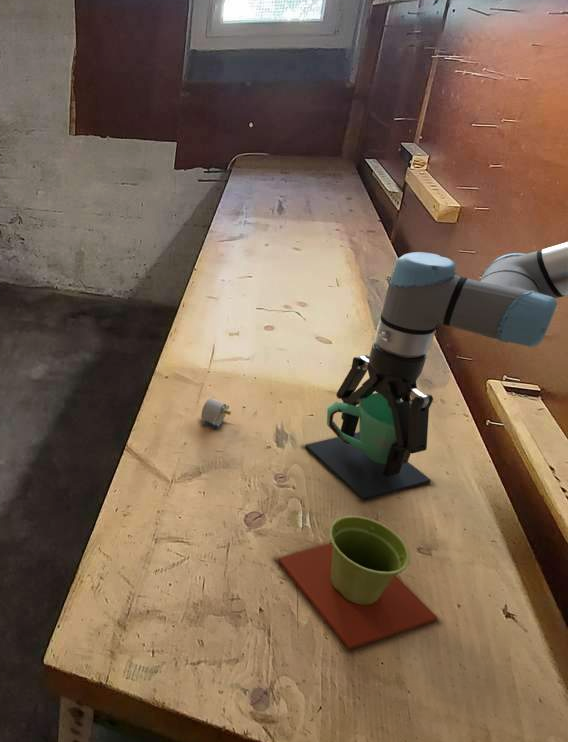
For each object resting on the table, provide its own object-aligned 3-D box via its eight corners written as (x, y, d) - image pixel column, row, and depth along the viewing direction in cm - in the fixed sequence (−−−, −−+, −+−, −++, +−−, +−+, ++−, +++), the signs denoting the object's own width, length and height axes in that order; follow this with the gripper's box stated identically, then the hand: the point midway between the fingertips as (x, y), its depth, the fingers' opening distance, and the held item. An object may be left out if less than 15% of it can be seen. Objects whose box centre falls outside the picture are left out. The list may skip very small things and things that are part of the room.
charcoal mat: (430, 482, 97) (431, 479, 97) (362, 500, 94) (363, 497, 93) (366, 432, 109) (367, 430, 109) (304, 447, 106) (305, 444, 106)
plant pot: (400, 626, 74) (418, 582, 70) (320, 605, 77) (333, 561, 73) (386, 568, 81) (401, 525, 78) (314, 551, 84) (326, 509, 81)
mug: (402, 441, 103) (417, 397, 99) (417, 478, 95) (434, 432, 91) (315, 428, 108) (325, 385, 103) (322, 462, 99) (334, 417, 95)
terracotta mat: (436, 620, 75) (437, 617, 75) (348, 649, 72) (349, 646, 71) (355, 538, 87) (356, 535, 87) (277, 560, 84) (278, 557, 84)
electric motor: (219, 437, 109) (222, 417, 107) (197, 427, 112) (199, 407, 110) (235, 420, 114) (238, 400, 111) (213, 411, 117) (215, 391, 114)
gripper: (330, 320, 99) (306, 421, 109) (443, 388, 80) (402, 504, 90) (365, 313, 101) (339, 414, 111) (484, 379, 82) (439, 493, 92)
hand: (367, 454), depth 100 cm, fingers closed on mug, 9 cm apart
